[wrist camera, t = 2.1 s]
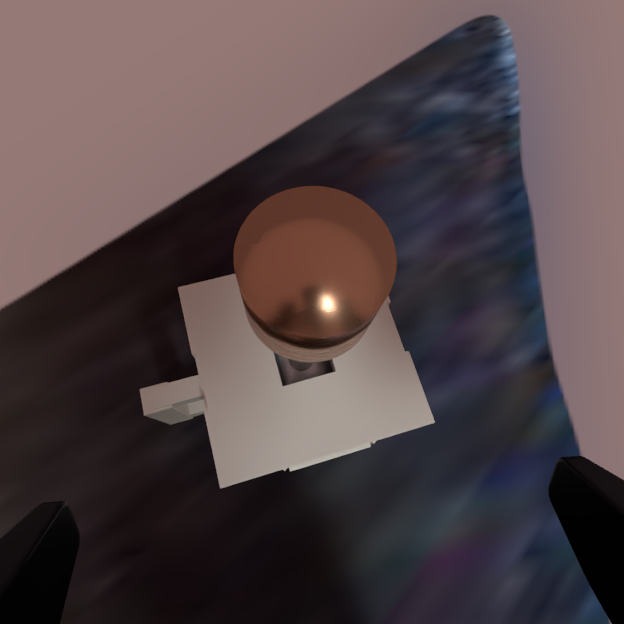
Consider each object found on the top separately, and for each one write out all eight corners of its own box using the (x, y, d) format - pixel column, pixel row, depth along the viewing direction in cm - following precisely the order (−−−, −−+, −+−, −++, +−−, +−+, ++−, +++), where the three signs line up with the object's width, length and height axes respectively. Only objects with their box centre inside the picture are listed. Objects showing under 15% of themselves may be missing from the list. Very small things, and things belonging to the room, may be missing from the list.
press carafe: (396, 437, 21) (438, 427, 16) (191, 501, 20) (152, 516, 14) (347, 292, 24) (368, 237, 18) (160, 340, 22) (116, 297, 17)
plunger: (387, 408, 17) (495, 349, 8) (250, 449, 16) (207, 431, 7) (344, 282, 19) (397, 121, 10) (218, 314, 18) (153, 170, 9)
